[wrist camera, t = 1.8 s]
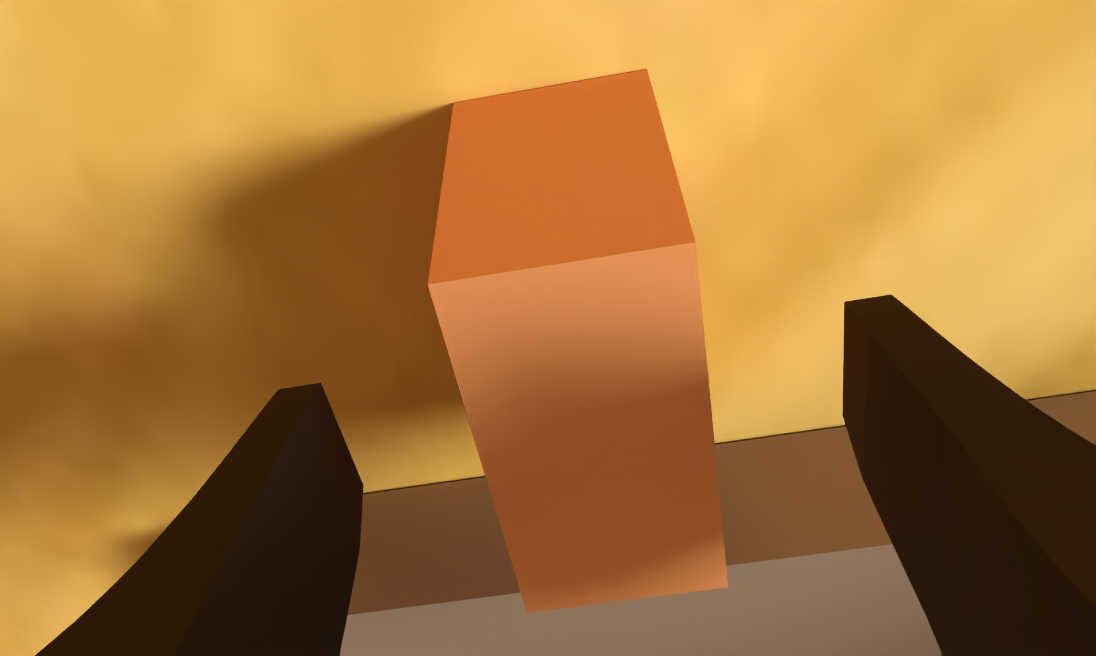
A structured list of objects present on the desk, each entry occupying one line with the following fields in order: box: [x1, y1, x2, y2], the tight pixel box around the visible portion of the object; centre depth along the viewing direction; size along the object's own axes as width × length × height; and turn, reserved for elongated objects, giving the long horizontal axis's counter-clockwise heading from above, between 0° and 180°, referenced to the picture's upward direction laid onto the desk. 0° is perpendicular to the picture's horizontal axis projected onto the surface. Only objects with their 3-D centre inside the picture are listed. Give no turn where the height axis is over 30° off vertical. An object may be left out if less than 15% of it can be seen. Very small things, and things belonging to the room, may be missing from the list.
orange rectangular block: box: [428, 69, 728, 613], centre depth 14 cm, size 3×6×5 cm, turn 10°
